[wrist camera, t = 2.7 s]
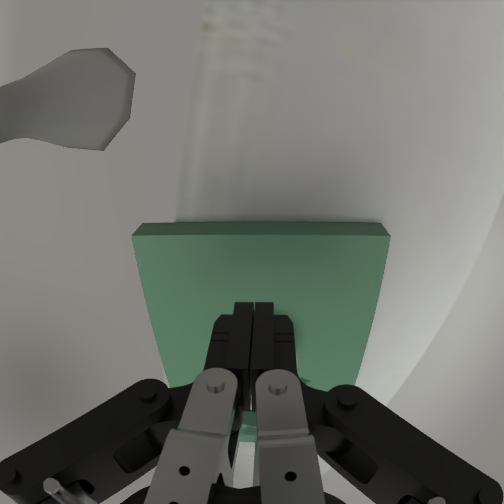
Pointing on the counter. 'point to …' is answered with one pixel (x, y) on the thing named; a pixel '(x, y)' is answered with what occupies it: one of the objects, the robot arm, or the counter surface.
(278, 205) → the counter surface
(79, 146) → the flask
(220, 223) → the putting board
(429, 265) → the counter surface
